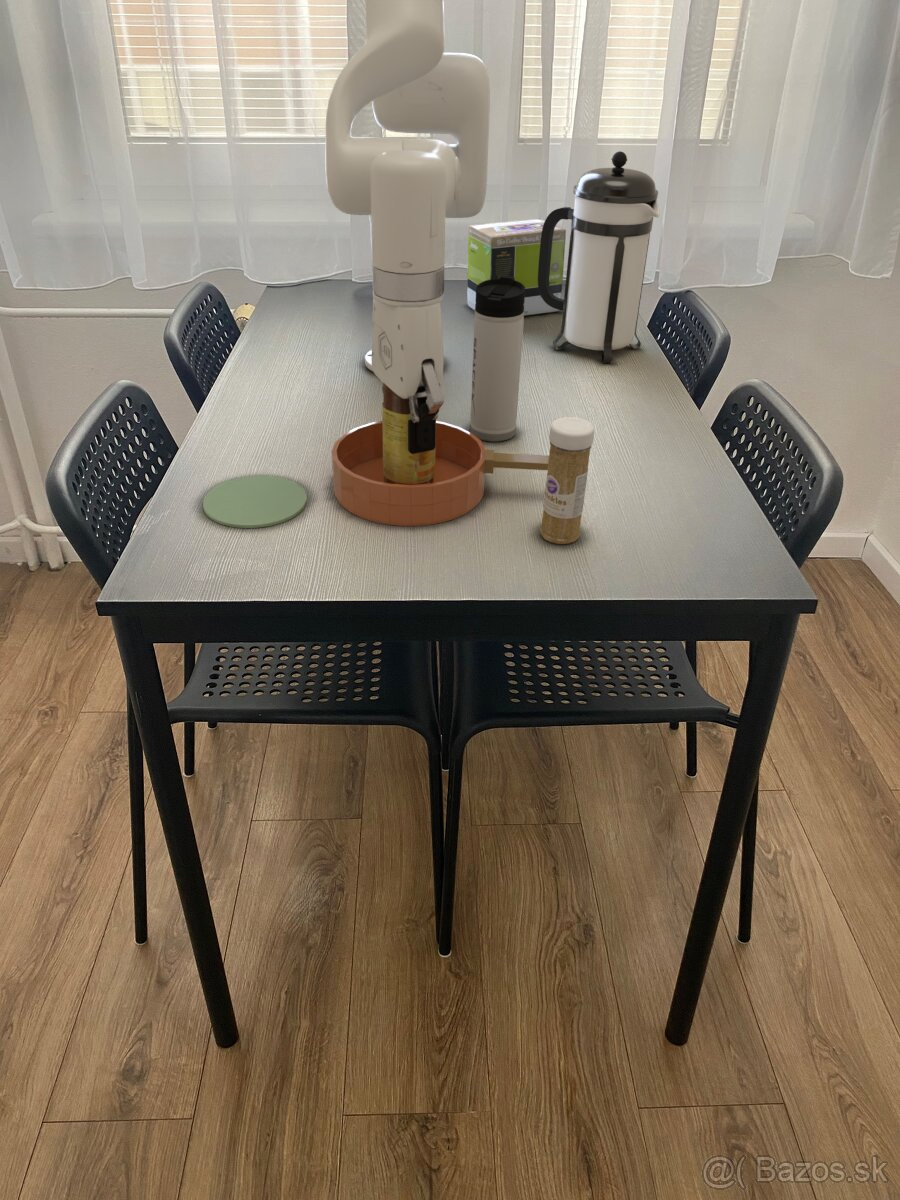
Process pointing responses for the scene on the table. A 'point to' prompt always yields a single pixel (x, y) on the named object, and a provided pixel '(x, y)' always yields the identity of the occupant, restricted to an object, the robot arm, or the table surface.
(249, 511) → the trivet
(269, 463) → the table surface
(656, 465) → the table surface
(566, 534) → the sprinkles bottle
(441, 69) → the robot arm
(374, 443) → the pan
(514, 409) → the travel mug
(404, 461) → the sauce bottle
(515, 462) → the pan handle
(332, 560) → the table surface
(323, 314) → the table surface
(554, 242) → the tea box
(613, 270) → the coffee press
